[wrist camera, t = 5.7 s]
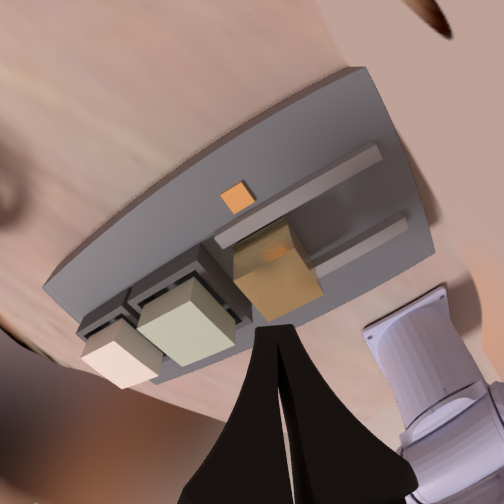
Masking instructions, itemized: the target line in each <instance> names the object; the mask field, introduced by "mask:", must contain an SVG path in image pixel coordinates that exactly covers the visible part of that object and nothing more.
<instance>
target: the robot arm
mask: <svg viewBox="0 0 504 504" xmlns="http://www.w3.org/2000/svg"><path fill="white" fill-rule="evenodd" d="M362 335H363V337H364V339H365V341H366V343H367V344H368V346H369V348H370V350H371V352H372V354H373V355H374V357H375V359H376V361H377V363H378V365H379V367H380V369H381V370H382V372H383V374H384V376H385V378H386V379H388V382H389V385H390V387H391V390H392V392H393V395H394V398H395V400H396V404H397V406H398V409H399V412H400V415H401V418H402V421H403V424H404V427H405V430H406V431H405V432H404V433H402V434H400V435H399V438H400V441H401V444H402V445H401V446H400V447H399V448H398V449H397V451H396V452H394V451H393V450H392V449H390V448H389V447H388V446H387V445H385V444H384V443H383V442H382V441H380V440H379V439H378V438H377V437H376V436H374V435H373V434H372V433H371V432H370V431H369V430H368V429H367V428H366V427H365V426H364V425H363V424H362V423H361V422H360V421H359V420H358V419H357V418H356V417H355V416H354V415H353V414H352V413H351V412H350V411H349V410H348V409H347V408H346V407H345V405H344V404H343V403H342V402H341V401H340V400H339V398H338V397H337V396H336V395H335V393H334V392H333V391H332V390H331V388H330V387H329V385H328V384H327V383H326V381H325V380H324V379H323V377H322V376H321V374H320V373H319V371H318V370H317V368H316V367H315V365H314V363H313V362H312V360H311V359H310V357H309V355H308V354H307V352H306V350H305V348H304V346H303V344H302V343H301V341H300V339H299V336H298V334H297V332H296V330H295V327H294V325H292V324H283V325H272V326H259V327H257V328H255V337H254V345H253V350H252V355H251V359H250V363H249V367H248V370H247V374H246V377H245V380H244V383H243V386H242V388H241V391H240V394H239V396H238V399H237V401H236V404H235V406H234V408H233V411H232V413H231V415H230V417H229V419H228V421H227V423H226V425H225V427H224V429H223V431H222V433H221V434H220V436H219V438H218V440H217V441H216V443H215V445H214V446H213V448H212V449H211V451H210V452H209V454H208V456H207V457H206V459H205V460H204V462H203V463H202V465H201V466H200V467H199V469H198V470H197V471H196V473H195V474H194V475H193V477H192V478H191V479H190V480H189V482H188V483H187V484H186V485H185V487H184V488H183V491H182V493H181V495H180V498H179V500H178V503H177V504H294V503H293V497H292V491H291V484H290V478H289V471H288V464H287V457H286V451H285V444H284V437H283V429H282V422H281V414H280V407H279V399H278V389H279V394H280V399H281V403H282V408H283V413H284V418H285V422H286V427H287V432H288V438H289V443H290V454H291V465H292V475H293V486H294V498H295V504H504V383H503V382H498V381H495V382H493V383H492V384H491V385H489V384H488V383H487V382H486V381H485V379H484V377H483V375H482V373H481V371H480V370H479V368H478V366H477V364H476V362H475V361H474V359H473V357H472V355H471V354H470V352H469V350H468V349H467V347H466V345H465V344H464V342H463V340H462V339H461V337H460V335H459V334H458V332H457V331H456V329H455V327H454V326H453V324H452V323H451V319H450V312H449V305H448V299H447V293H446V289H445V288H444V287H443V286H440V287H438V288H436V289H435V290H433V291H431V292H430V293H428V294H426V295H425V296H423V297H421V298H420V299H418V300H416V301H415V302H413V303H411V304H409V305H407V306H406V307H404V308H402V309H400V310H399V311H397V312H395V313H393V314H391V315H389V316H388V317H386V318H384V319H382V320H380V321H378V322H376V323H374V324H372V325H370V326H369V327H367V328H365V329H364V330H363V331H362ZM34 504H39V503H34Z"/></svg>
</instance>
